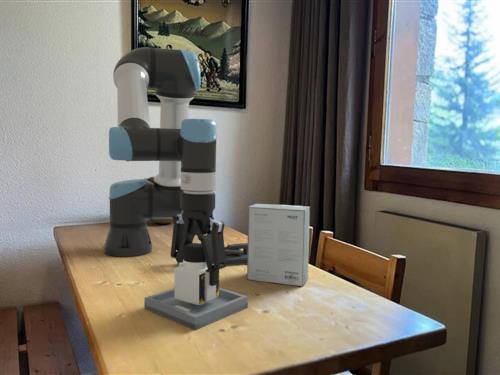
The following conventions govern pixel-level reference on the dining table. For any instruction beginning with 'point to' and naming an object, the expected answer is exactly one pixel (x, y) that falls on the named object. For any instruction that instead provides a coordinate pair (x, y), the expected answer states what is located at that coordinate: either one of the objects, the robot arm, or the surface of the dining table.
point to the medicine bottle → (192, 276)
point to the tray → (196, 307)
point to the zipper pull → (236, 254)
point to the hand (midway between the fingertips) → (196, 294)
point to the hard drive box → (278, 243)
